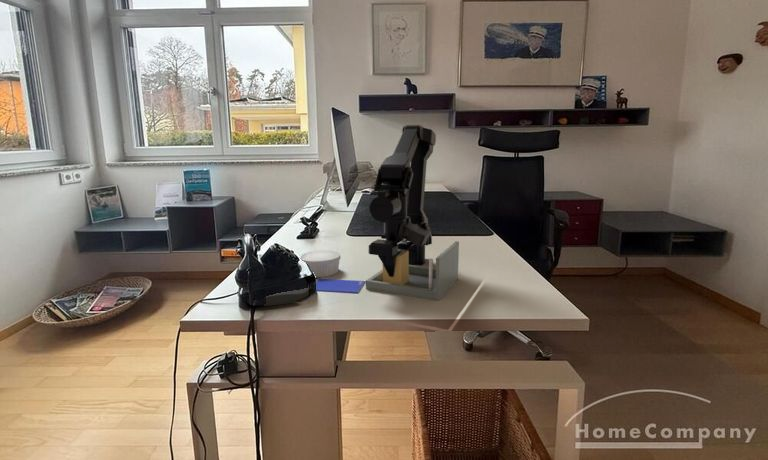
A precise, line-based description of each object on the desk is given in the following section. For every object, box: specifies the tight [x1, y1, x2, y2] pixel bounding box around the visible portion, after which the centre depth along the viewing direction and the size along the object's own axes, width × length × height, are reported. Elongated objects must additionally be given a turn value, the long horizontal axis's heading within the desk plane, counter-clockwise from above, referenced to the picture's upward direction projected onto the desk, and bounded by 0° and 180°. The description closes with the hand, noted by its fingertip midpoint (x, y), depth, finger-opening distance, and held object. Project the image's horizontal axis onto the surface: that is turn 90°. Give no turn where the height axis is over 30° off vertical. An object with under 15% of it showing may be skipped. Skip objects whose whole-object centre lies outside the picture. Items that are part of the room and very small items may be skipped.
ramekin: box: [299, 249, 341, 279], centre depth 118 cm, size 11×11×5 cm
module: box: [382, 249, 410, 285], centre depth 108 cm, size 5×5×8 cm
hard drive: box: [314, 278, 366, 294], centre depth 107 cm, size 2×8×12 cm
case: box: [365, 240, 460, 301], centre depth 107 cm, size 16×19×11 cm
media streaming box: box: [263, 286, 310, 307], centre depth 104 cm, size 15×15×3 cm
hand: (395, 273), depth 108 cm, fingers closed on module, 5 cm apart
